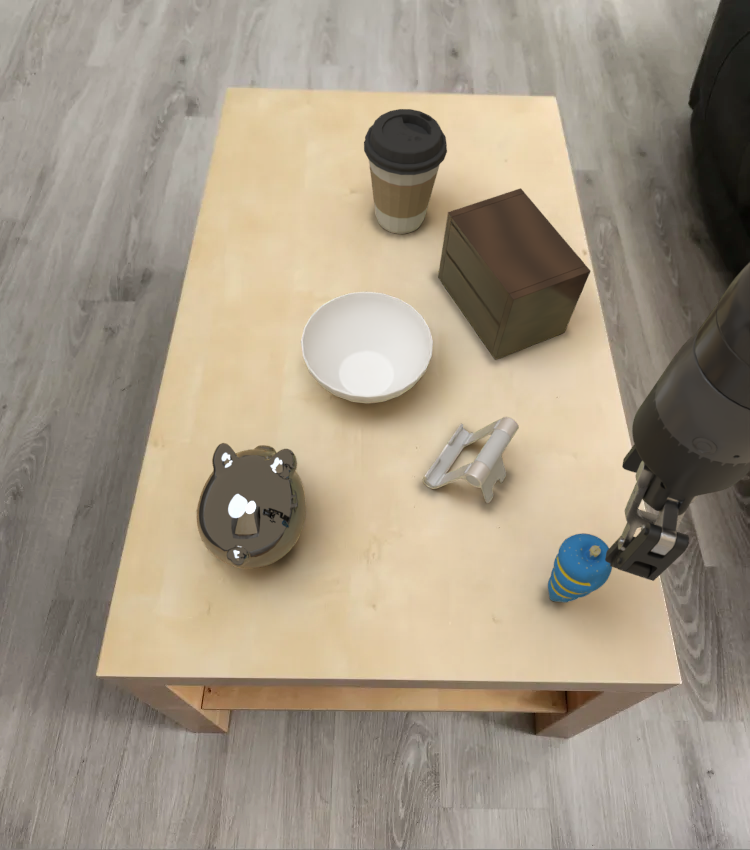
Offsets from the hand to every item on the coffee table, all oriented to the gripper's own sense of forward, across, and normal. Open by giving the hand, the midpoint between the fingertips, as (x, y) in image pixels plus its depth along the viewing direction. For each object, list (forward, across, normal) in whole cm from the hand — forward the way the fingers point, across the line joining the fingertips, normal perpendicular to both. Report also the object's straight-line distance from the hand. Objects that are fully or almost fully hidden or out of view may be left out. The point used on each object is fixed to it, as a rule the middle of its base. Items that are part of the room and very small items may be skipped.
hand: (626, 513), depth 54 cm
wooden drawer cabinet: (+23, +38, +16) cm, 47 cm away
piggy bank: (+23, -4, +33) cm, 41 cm away
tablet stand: (+23, +11, +13) cm, 29 cm away
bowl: (+23, +20, +29) cm, 42 cm away
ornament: (+23, 0, 0) cm, 23 cm away
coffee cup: (+23, +49, +34) cm, 64 cm away
